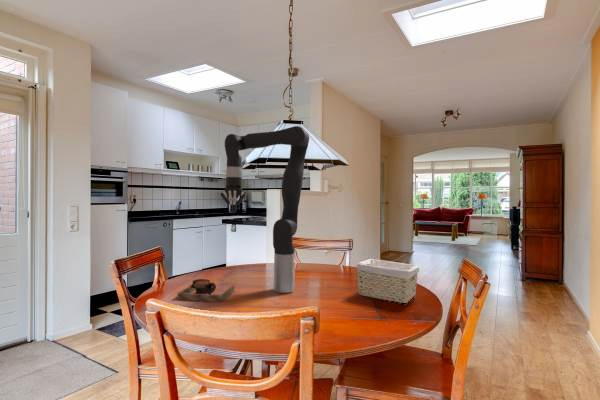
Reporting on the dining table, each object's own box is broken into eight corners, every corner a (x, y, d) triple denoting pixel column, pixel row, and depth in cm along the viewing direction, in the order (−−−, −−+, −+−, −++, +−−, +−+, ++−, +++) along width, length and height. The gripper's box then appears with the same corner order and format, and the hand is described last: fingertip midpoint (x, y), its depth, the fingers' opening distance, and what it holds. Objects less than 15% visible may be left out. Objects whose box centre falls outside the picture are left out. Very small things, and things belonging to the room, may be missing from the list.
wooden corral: (234, 291, 154) (234, 285, 154) (222, 302, 138) (222, 296, 138) (193, 288, 156) (194, 283, 156) (177, 299, 140) (177, 293, 140)
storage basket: (419, 297, 152) (420, 264, 152) (408, 307, 139) (409, 270, 138) (369, 288, 166) (369, 258, 165) (354, 296, 152) (355, 263, 152)
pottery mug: (185, 299, 142) (186, 280, 146) (197, 303, 150) (198, 285, 154) (211, 294, 139) (211, 275, 143) (222, 299, 148) (222, 280, 152)
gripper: (217, 175, 161) (217, 212, 161) (245, 176, 160) (244, 213, 160) (223, 176, 169) (222, 212, 169) (249, 177, 167) (248, 212, 167)
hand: (233, 212), depth 164 cm, fingers closed
